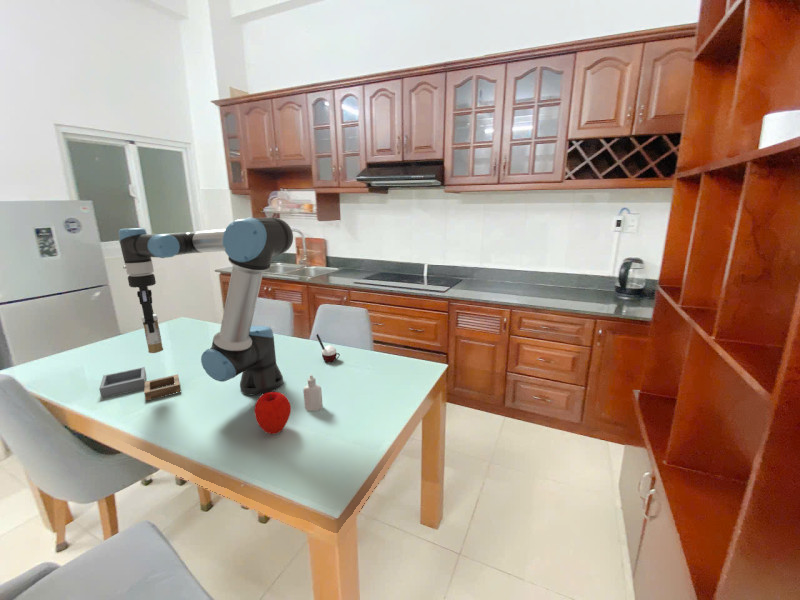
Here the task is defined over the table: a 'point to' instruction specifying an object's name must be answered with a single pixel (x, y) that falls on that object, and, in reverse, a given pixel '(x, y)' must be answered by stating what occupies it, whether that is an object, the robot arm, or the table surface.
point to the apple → (272, 412)
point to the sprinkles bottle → (155, 345)
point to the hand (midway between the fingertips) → (153, 338)
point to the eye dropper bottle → (312, 395)
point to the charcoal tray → (122, 382)
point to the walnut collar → (163, 390)
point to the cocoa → (328, 352)
